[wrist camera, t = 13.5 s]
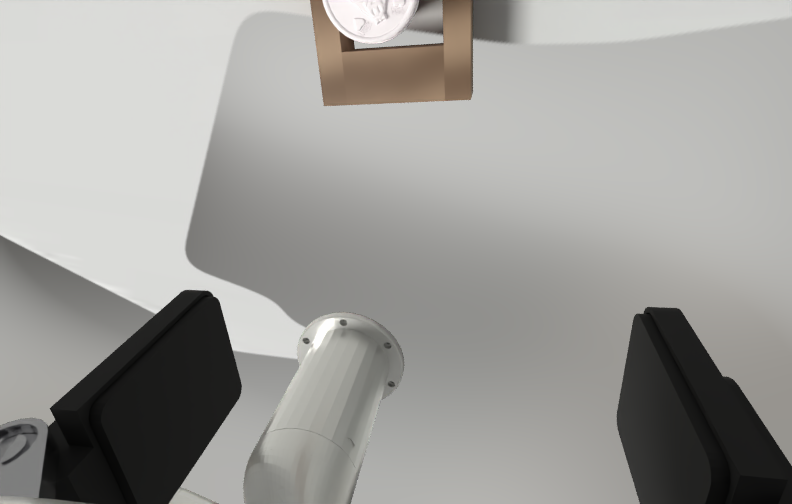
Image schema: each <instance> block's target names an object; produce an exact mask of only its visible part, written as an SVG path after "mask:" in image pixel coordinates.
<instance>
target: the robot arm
mask: <svg viewBox="0 0 792 504" xmlns="http://www.w3.org/2000/svg"><path fill="white" fill-rule="evenodd" d="M297 356H298V361H299V364H300V367H299V369H298V371H297V372H296V374H295V376H294V378H293V380H292V381H291V384H290V385H289V387H288V389H287V390H286V392H285V394H284V396H283V397H282V399H281V401H280V403H279V405H278V406H277V408H276V410H275V412H274V414H273V416H272V417H271V419H270V421H269V423H268V425H267V426H266V428H265V430H264V432H263V434H262V435H261V437H260V439H259V441H258V443H257V444H256V446H255V448H254V450H253V452H252V453H251V456H250V458H249V460H248V463H247V466H246V470H245V475H244V483H243V489H244V503H245V504H351V500H352V497H353V494H354V490H355V486H356V483H357V480H358V476H359V473H360V469H361V466H362V463H363V459H364V456H365V452H366V449H367V446H368V442H369V439H370V435H371V432H372V429H373V425H374V422H375V419H376V415H377V412H378V408H379V405H380V401H381V400H382V399H384V398H386V397H387V396H389V395H390V394H391V393H392V392H393V391H394V390H395V389H396V388H397V387H398V384H399V383H400V381H401V378H402V375H403V370H404V357H403V353H402V350H401V348H400V346H399V344H398V342H397V340H396V339H395V338H394V337H393V335H392V334H391V333H390V332H389V331H388V330H387V329H386V328H384V327H383V326H382V325H380V324H379V323H377V322H376V321H374V320H372V319H370V318H367V317H365V316H362V315H358V314H354V313H345V312H340V313H331V314H327V315H323V316H321V317H319V318H317V319H315V320H314V321H313V322H312V323H310V324H309V325H308V326H307V328H306V329H305V330H304V332H303V334H302V335H301V337H300V339H299V343H298V346H297ZM241 387H242V385H241V380H240V377H239V373H238V370H237V366H236V362H235V358H234V354H233V351H232V347H231V343H230V339H229V336H228V332H227V328H226V324H225V321H224V317H223V313H222V310H221V306H220V302H219V300H218V299H217V298H216V297H213V295H212V293H211V292H209V291H199V290H184V291H183V292H181V293H180V294H179V295H178V296H176V297H175V298H174V299H173V300H172V301H171V302H170V303H169V304H167V305H166V306H165V307H164V308H163V309H162V310H161V311H159V312H158V313H157V314H156V315H155V316H154V317H153V318H152V319H150V320H149V321H148V322H147V323H146V324H145V325H144V326H143V327H141V328H140V329H139V330H138V331H137V332H136V333H135V334H133V335H132V336H131V337H130V338H129V339H128V340H127V341H126V342H124V343H123V344H122V345H121V346H120V347H119V348H118V349H117V350H115V351H114V352H113V353H112V354H111V355H110V356H109V357H107V359H105V360H104V361H103V362H102V363H101V364H100V365H98V366H97V367H96V368H95V369H94V370H93V371H92V372H90V373H89V374H88V375H87V376H86V377H85V378H84V379H83V380H81V381H80V382H79V383H78V384H77V385H76V386H75V387H74V388H72V389H71V390H70V391H69V392H68V393H67V394H66V395H64V396H63V397H62V398H61V399H60V400H59V401H58V402H56V403H55V404H54V405H53V406H52V407H51V408H50V410H51V412H52V414H53V416H54V418H55V421H54V422H53V423H52V424H51V425H50V426H49V427H48V425H47V424H46V423H45V422H44V421H43V420H41V419H36V418H25V419H19V420H15V421H11V422H8V423H6V424H3V425H1V426H0V504H218V503H216V502H213V501H212V500H209V499H207V498H205V497H202V496H200V495H198V494H196V493H193V492H191V491H189V490H186V489H184V488H181V487H180V486H181V484H182V483H183V481H184V480H185V478H186V477H187V475H188V474H189V472H190V471H191V469H192V468H193V466H194V465H195V464H196V462H197V460H198V459H199V457H200V456H201V455H202V453H203V452H204V450H205V448H206V447H207V445H208V444H209V442H210V441H211V440H212V438H213V436H214V435H215V433H216V432H217V430H218V429H219V427H220V426H221V425H222V423H223V421H224V420H225V418H226V417H227V415H228V414H229V412H230V411H231V409H232V408H233V407H234V405H235V404H236V402H237V400H238V399H239V397H240V394H241ZM617 426H618V431H619V435H620V438H621V442H622V444H623V448H624V452H625V455H626V458H627V461H628V465H629V468H630V472H631V475H632V478H633V482H634V485H635V488H636V492H637V495H638V498H639V502H640V504H792V466H791V464H790V463H789V461H788V460H787V458H786V457H785V455H784V454H783V452H782V451H781V450H780V448H779V446H778V445H777V444H776V442H775V440H774V439H773V437H772V436H771V434H770V433H769V431H768V430H767V428H766V427H765V425H764V424H763V422H762V421H761V419H760V418H759V416H758V414H757V413H756V412H755V410H754V408H753V407H752V405H751V404H750V402H749V401H748V399H747V398H746V396H745V395H744V393H743V392H742V390H741V389H740V387H739V386H738V385H737V383H736V382H735V381H734V380H733V379H731V378H729V377H723V376H722V375H721V373H720V372H719V370H718V368H717V367H716V365H715V364H714V362H713V360H712V359H711V357H710V356H709V354H708V353H707V351H706V349H705V348H704V346H703V345H702V343H701V342H700V340H699V339H698V337H697V335H696V334H695V332H694V330H693V329H692V327H691V326H690V324H689V323H688V321H687V320H686V318H685V316H684V315H683V313H682V312H681V310H680V309H677V308H657V307H647V308H646V309H645V311H644V314H636V315H635V317H634V320H633V325H632V331H631V336H630V342H629V348H628V354H627V359H626V365H625V371H624V376H623V382H622V388H621V393H620V399H619V405H618V411H617Z"/></svg>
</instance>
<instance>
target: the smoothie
mask: <svg viewBox="0 0 792 504" xmlns="http://www.w3.org/2000/svg"><path fill="white" fill-rule="evenodd" d="M322 1H323V5H324V8H325V10H326V13H327V15H328V17H329V18H330V20H331V22H332V23H333V24H334V26H335V27H336V28H337V29H338V30H339V31H340V32H341V33H343V34H344V35H345V36H347V37H349V38H350V39H352V40H355V41H358V42H362V43H368V44H376V43H383V42H386V41H389V40H391V39H394V38H395V37H396V36H398V35H399V34H400V33H402V32H403V31H404V30H405V29H406V27H407V26H408V25H409V24H410V22H411V21H412V19H413V17H414V15H415V13H416V10H417V8H418V4H419V0H322Z"/></svg>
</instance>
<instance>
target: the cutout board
mask: <svg viewBox="0 0 792 504" xmlns="http://www.w3.org/2000/svg"><path fill="white" fill-rule="evenodd" d="M310 2H311V10H312V18H313V25H314V33H315V41H316V48H317V56H318V64H319V72H320V79H321V86H322V95H323V102H324V106H336V105H359V104H382V103H405V102H428V101H450V100H470V99H471V97H472V93H473V0H443V39H444V43H440V44H426V45H425V44H424V45H410V46H396V47H379V48H365V49H355V48H354V40H352V39H350V38H349V37H347V36H345V35H344V34H343V33H341V32H340V31H339V30H338V29H337V28H336V27H335V26H334V24H333V23H332V22H331V20H330V18H329V17H328V15H327V13H326V10H325V8H324V5H323V1H322V0H310Z"/></svg>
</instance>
